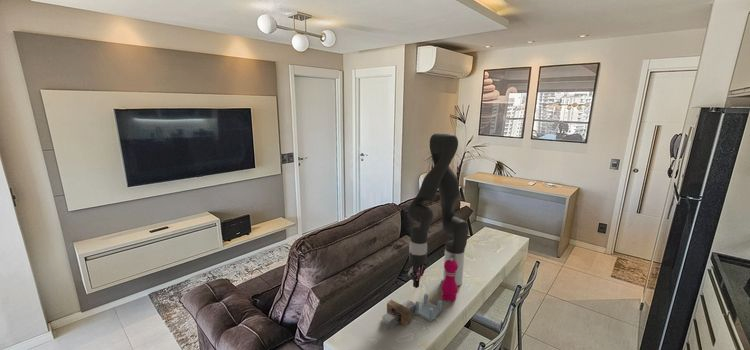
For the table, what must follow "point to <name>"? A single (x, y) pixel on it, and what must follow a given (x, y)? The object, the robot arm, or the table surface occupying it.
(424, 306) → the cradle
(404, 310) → the wooden arch block
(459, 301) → the table surface
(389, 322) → the steel bar
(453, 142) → the robot arm
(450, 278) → the pepper mill
